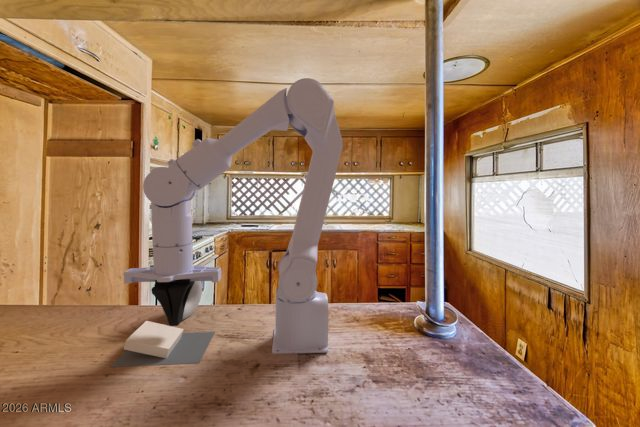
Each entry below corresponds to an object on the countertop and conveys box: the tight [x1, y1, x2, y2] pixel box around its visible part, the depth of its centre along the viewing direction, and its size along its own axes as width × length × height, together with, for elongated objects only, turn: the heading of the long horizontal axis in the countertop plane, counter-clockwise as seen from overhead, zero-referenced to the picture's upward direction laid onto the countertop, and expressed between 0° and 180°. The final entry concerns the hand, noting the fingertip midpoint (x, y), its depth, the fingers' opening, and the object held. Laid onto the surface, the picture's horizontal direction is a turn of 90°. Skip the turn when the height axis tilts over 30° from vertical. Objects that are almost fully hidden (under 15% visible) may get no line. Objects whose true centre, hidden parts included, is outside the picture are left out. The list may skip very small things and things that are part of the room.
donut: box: [162, 281, 203, 321], centre depth 56 cm, size 10×4×10 cm, turn 168°
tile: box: [123, 320, 184, 358], centre depth 46 cm, size 2×6×6 cm
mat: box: [109, 331, 216, 368], centre depth 46 cm, size 13×9×1 cm
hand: (176, 322), depth 46 cm, fingers closed
